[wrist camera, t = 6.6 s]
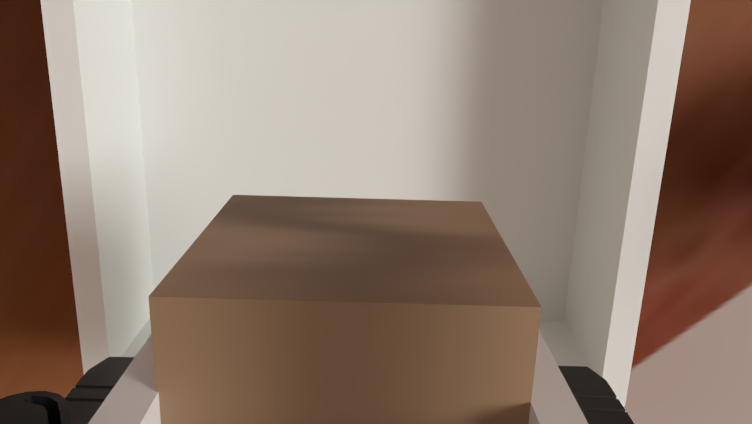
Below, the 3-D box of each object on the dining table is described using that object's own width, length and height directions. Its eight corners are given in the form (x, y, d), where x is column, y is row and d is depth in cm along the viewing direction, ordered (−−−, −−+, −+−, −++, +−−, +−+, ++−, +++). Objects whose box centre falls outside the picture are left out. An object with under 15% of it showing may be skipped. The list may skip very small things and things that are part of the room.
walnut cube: (240, 411, 17) (172, 605, 12) (233, 194, 16) (148, 296, 10) (464, 417, 17) (507, 614, 12) (481, 201, 16) (542, 307, 10)
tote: (87, -304, 22) (-8, -410, 17) (659, -284, 23) (752, -381, 17) (140, 322, 29) (86, 393, 24) (577, 333, 30) (624, 406, 24)
